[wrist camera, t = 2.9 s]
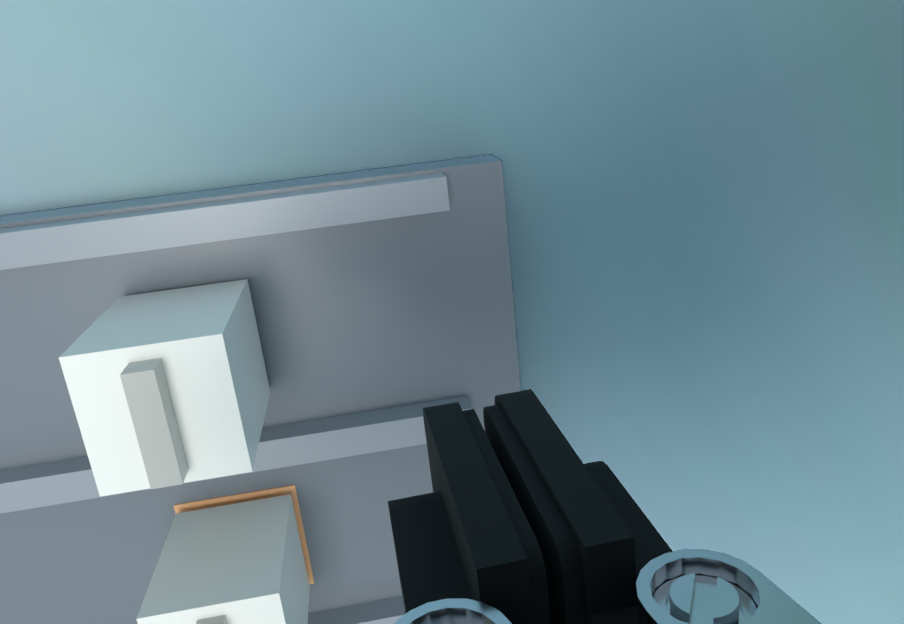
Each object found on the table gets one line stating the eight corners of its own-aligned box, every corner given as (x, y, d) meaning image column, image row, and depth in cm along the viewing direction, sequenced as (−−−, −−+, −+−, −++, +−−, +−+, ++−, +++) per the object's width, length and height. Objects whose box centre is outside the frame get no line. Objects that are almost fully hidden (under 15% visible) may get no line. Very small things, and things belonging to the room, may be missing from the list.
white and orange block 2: (290, 494, 20) (276, 612, 15) (309, 587, 21) (301, 722, 16) (175, 513, 19) (128, 639, 15) (200, 606, 20) (162, 750, 16)
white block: (247, 278, 18) (217, 344, 14) (270, 391, 19) (249, 487, 14) (119, 296, 18) (46, 369, 13) (149, 410, 19) (90, 513, 14)
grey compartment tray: (490, 154, 20) (515, 168, 17) (539, 709, 26) (563, 788, 23) (-336, 258, 18) (-466, 293, 15) (-72, 833, 24) (-128, 937, 21)
